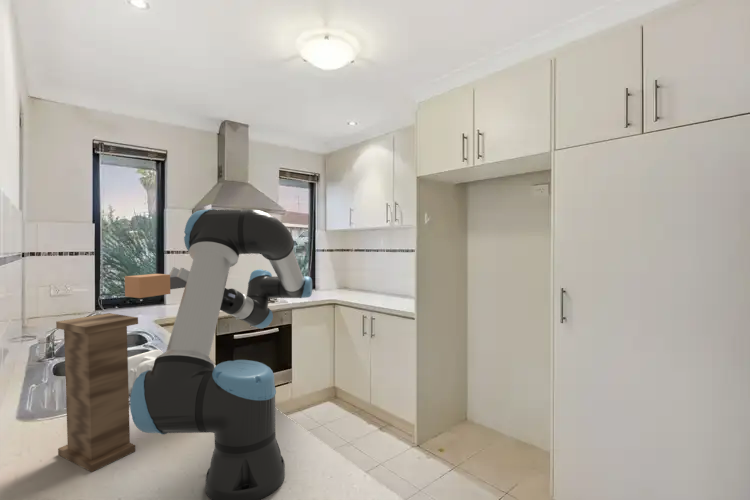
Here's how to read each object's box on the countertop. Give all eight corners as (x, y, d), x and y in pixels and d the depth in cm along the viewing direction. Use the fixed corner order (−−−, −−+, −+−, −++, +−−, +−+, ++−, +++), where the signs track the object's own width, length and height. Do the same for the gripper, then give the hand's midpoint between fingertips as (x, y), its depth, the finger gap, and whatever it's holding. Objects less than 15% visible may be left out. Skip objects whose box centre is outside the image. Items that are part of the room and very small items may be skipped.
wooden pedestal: (143, 447, 92) (140, 317, 91) (91, 472, 82) (87, 327, 81) (110, 433, 98) (106, 312, 97) (58, 454, 89) (54, 321, 88)
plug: (206, 288, 111) (206, 271, 111) (139, 298, 95) (139, 277, 94) (192, 287, 114) (192, 270, 114) (125, 296, 97) (124, 276, 97)
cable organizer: (163, 380, 135) (162, 347, 134) (184, 385, 130) (184, 350, 130) (119, 397, 121) (118, 359, 121) (141, 402, 117) (140, 364, 116)
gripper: (249, 317, 119) (188, 286, 101) (213, 312, 127) (151, 283, 108) (257, 294, 122) (200, 260, 104) (222, 291, 130) (163, 259, 111)
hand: (175, 272), depth 106 cm, fingers closed on plug, 3 cm apart
